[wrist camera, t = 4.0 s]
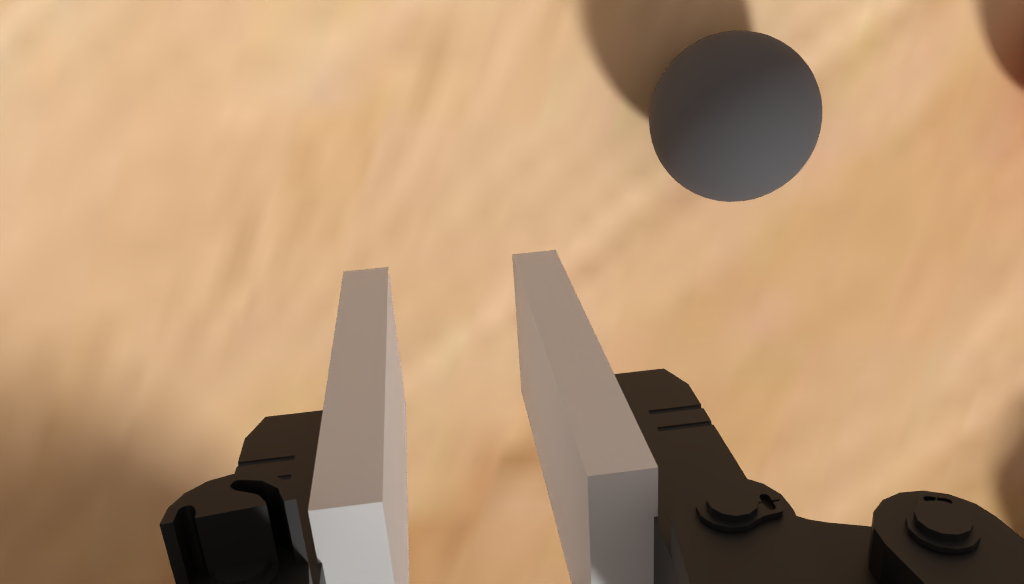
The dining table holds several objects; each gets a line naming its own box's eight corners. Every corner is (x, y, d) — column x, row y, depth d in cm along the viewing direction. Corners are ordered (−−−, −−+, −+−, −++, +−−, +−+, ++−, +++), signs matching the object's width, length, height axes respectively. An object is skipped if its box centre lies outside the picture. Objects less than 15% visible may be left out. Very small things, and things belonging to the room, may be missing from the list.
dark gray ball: (631, 182, 32) (675, 232, 27) (630, 28, 30) (677, 51, 25) (776, 168, 33) (845, 215, 28) (785, 15, 30) (862, 35, 25)
